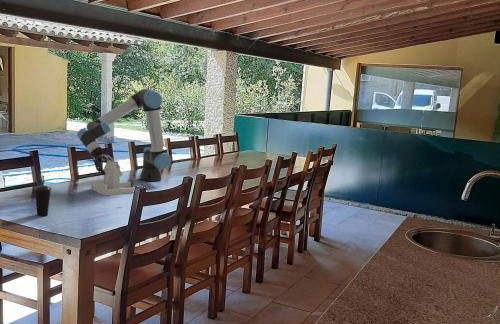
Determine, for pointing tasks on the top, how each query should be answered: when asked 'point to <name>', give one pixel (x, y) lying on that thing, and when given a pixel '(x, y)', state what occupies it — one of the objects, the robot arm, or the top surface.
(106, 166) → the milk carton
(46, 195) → the drinking cup
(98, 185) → the bay
